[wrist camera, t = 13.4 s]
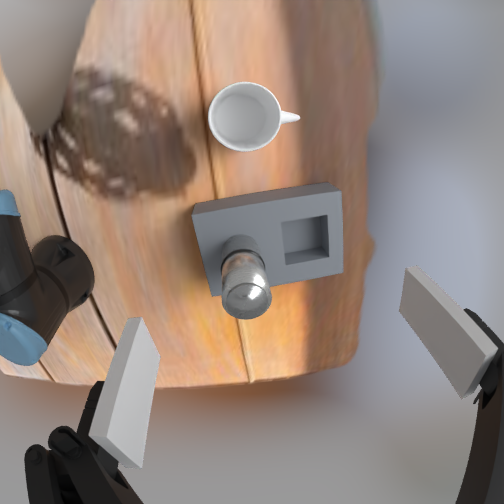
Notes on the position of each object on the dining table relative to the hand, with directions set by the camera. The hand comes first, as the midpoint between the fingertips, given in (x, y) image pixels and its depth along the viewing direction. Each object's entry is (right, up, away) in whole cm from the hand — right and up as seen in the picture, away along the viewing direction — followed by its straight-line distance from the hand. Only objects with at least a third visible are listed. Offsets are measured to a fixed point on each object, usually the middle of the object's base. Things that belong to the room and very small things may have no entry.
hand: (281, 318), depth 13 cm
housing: (+1, +7, +36) cm, 36 cm away
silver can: (-3, +3, +30) cm, 30 cm away
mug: (-1, +23, +28) cm, 36 cm away
